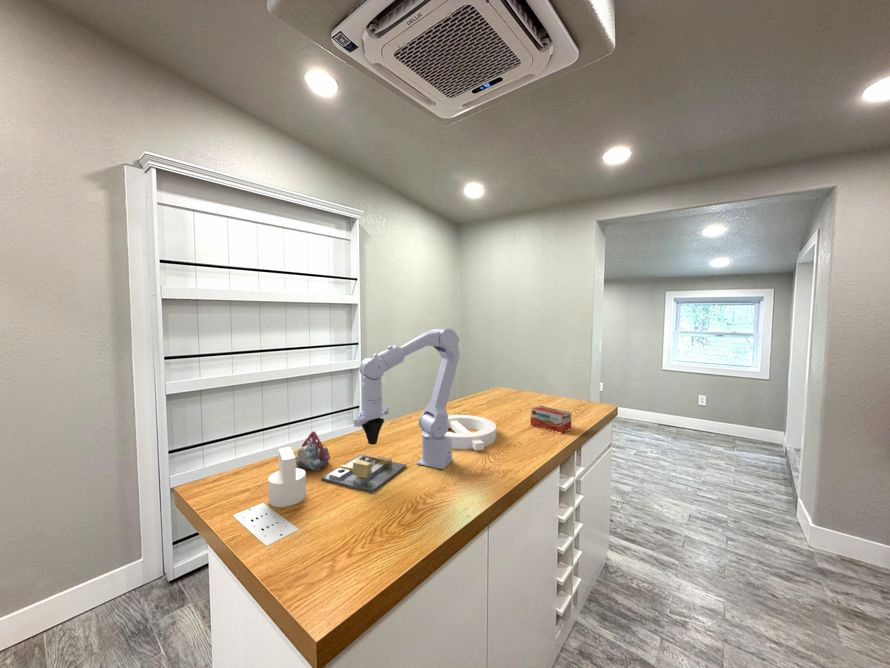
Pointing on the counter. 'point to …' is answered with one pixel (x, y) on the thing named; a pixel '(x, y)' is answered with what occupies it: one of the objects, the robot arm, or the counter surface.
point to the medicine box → (551, 418)
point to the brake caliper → (312, 453)
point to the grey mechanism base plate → (380, 475)
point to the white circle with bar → (465, 437)
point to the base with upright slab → (287, 481)
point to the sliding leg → (360, 468)
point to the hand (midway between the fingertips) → (372, 443)
